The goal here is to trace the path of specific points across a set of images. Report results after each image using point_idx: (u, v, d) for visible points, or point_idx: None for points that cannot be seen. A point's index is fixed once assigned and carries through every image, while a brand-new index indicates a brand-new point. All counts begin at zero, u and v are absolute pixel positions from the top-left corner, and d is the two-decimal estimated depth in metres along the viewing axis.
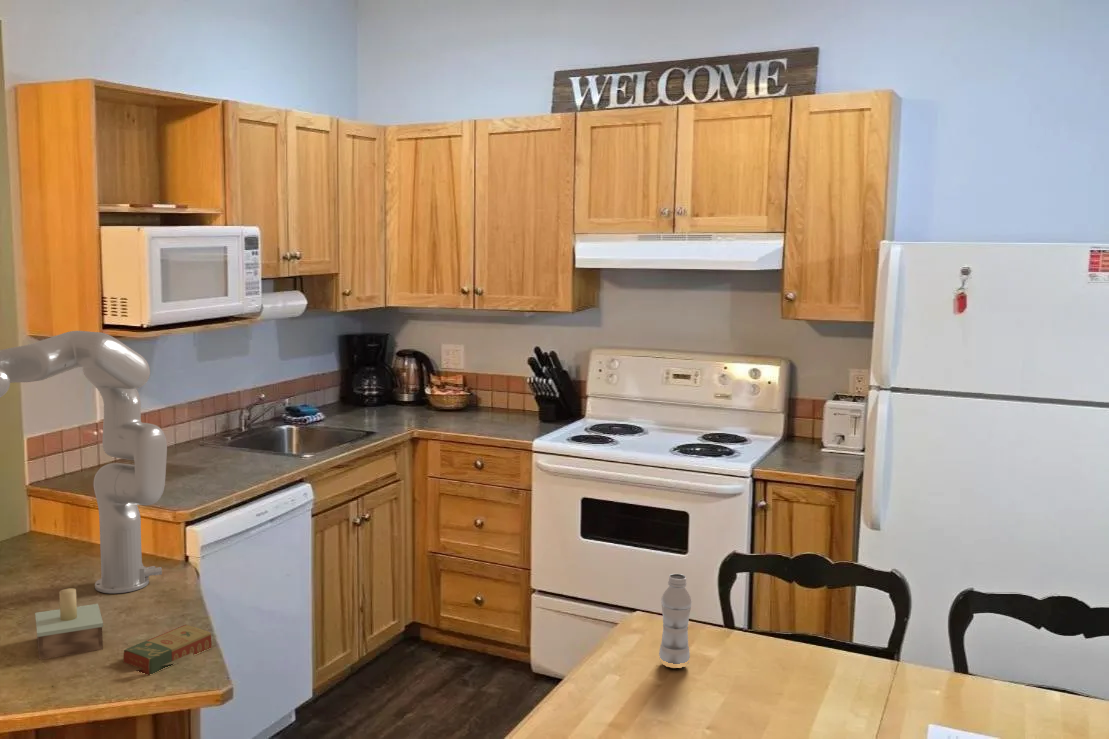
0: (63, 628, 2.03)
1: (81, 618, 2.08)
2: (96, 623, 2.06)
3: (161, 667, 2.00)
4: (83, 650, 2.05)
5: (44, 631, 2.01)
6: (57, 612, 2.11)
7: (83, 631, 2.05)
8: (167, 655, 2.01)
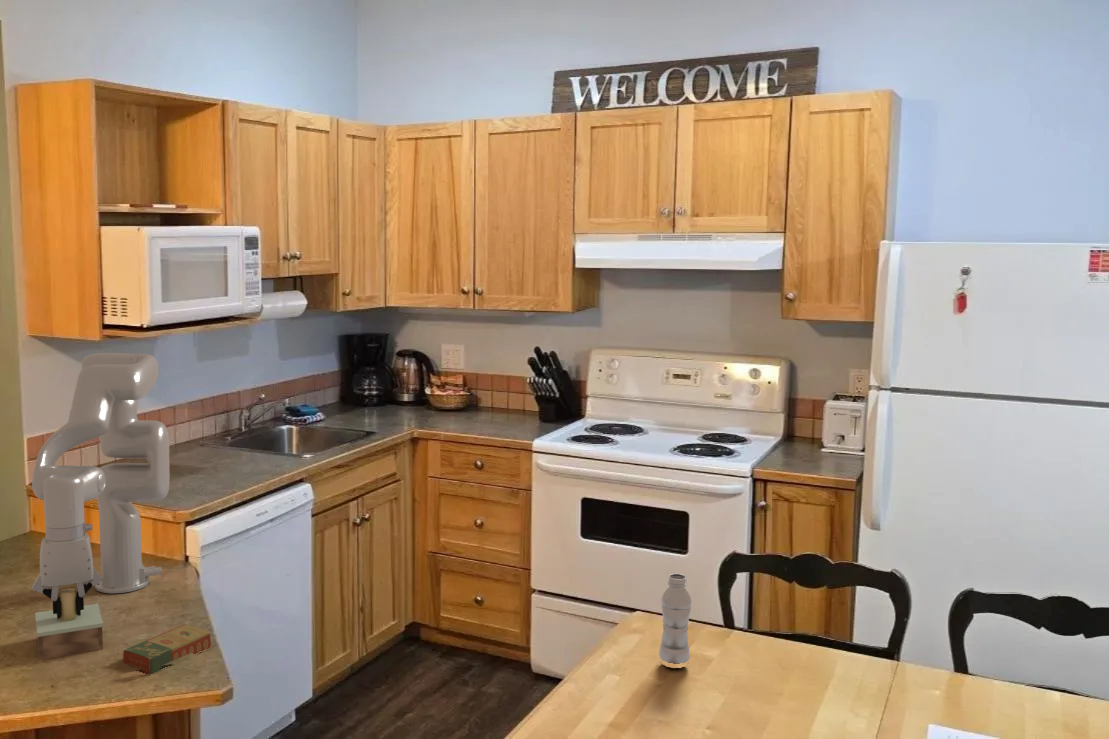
0: (63, 628, 2.03)
1: (81, 618, 2.08)
2: (96, 623, 2.06)
3: (161, 667, 2.00)
4: (83, 650, 2.05)
5: (44, 631, 2.01)
6: None
7: (83, 631, 2.05)
8: (167, 655, 2.01)
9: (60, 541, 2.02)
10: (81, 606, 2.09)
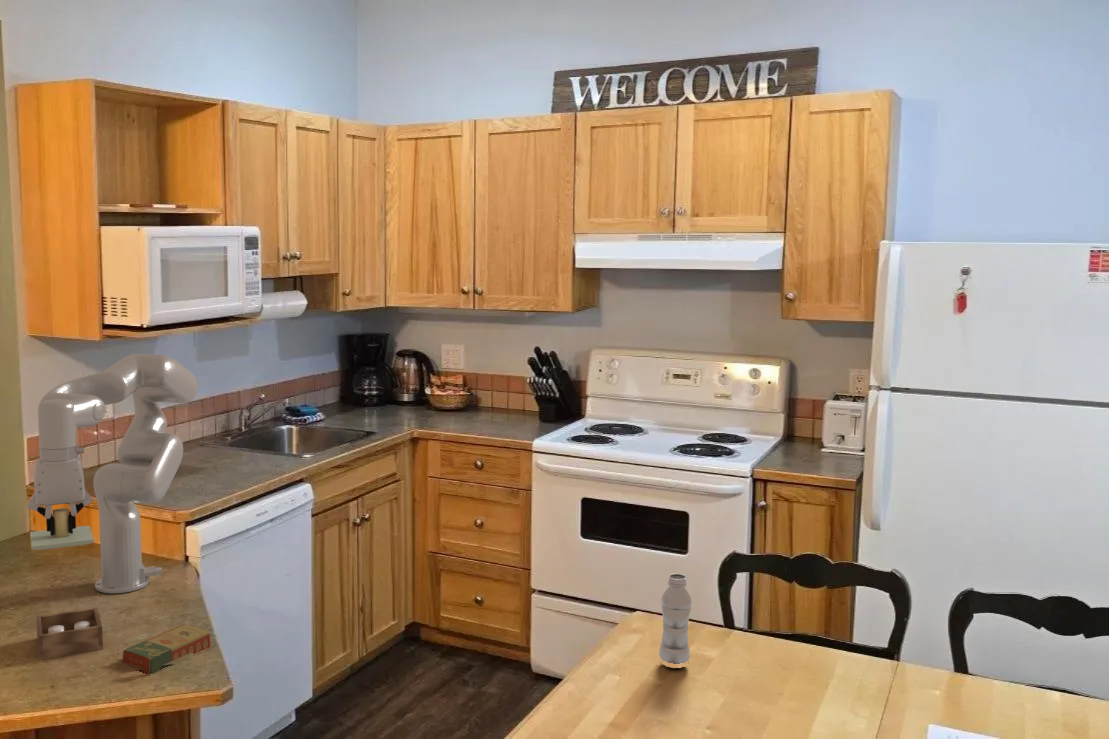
0: (56, 543, 2.16)
1: (73, 536, 2.21)
2: (87, 539, 2.19)
3: (161, 667, 2.00)
4: (83, 650, 2.05)
5: (38, 545, 2.14)
6: None
7: (83, 631, 2.05)
8: (167, 655, 2.01)
9: (53, 461, 2.15)
10: (73, 525, 2.21)
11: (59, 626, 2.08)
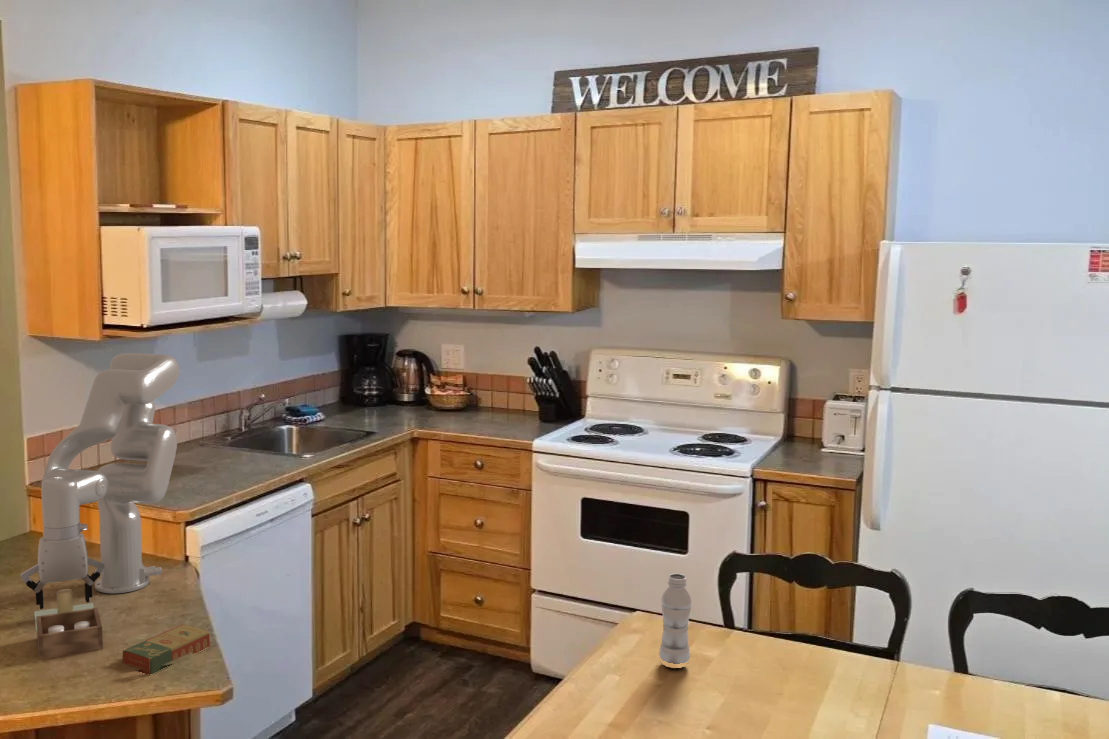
0: None
1: None
2: None
3: (161, 667, 2.00)
4: (83, 650, 2.05)
5: None
6: (54, 610, 2.27)
7: (83, 631, 2.05)
8: (167, 655, 2.01)
9: (57, 540, 2.18)
10: (90, 594, 2.25)
11: (59, 626, 2.08)
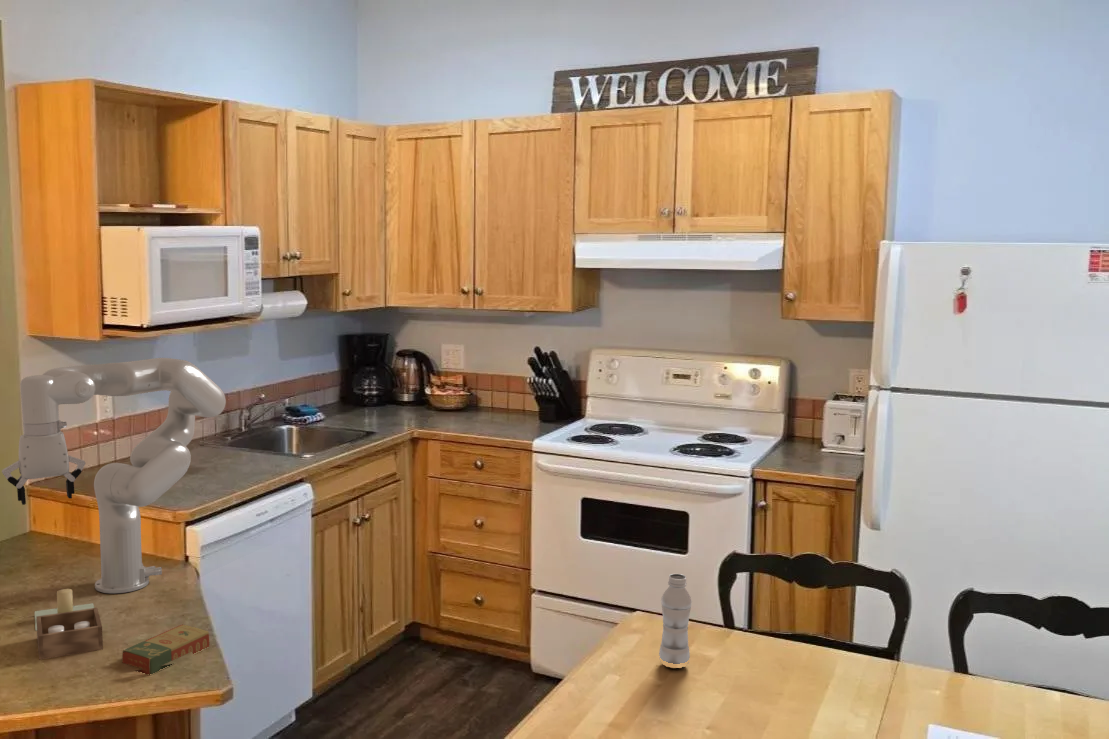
0: None
1: None
2: None
3: (161, 667, 2.00)
4: (83, 650, 2.05)
5: None
6: (55, 610, 2.27)
7: (83, 631, 2.05)
8: (167, 655, 2.01)
9: (38, 436, 2.21)
10: (72, 490, 2.29)
11: (59, 626, 2.08)
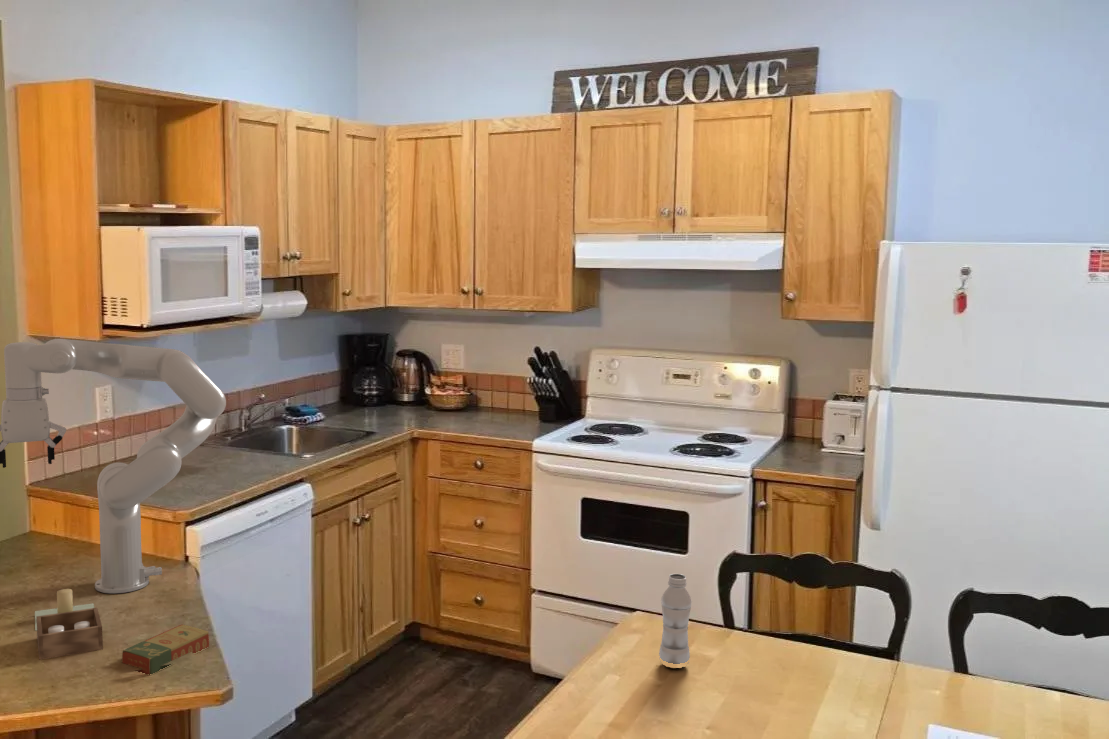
0: None
1: None
2: None
3: (161, 667, 2.00)
4: (83, 650, 2.05)
5: None
6: (55, 610, 2.27)
7: (83, 631, 2.05)
8: (167, 655, 2.01)
9: (19, 400, 2.27)
10: (52, 456, 2.35)
11: (59, 626, 2.08)
